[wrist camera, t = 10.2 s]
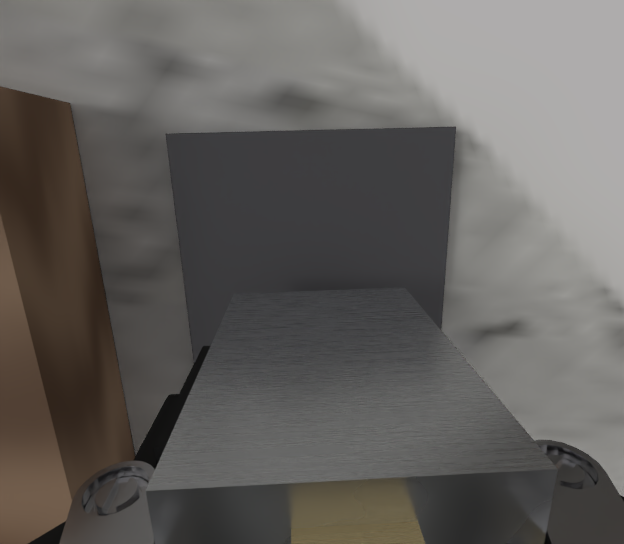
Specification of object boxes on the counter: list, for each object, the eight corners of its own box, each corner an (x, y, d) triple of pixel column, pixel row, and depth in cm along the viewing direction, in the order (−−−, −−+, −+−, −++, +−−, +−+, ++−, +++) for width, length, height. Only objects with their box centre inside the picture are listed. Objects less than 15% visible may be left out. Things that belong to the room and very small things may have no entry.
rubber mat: (171, 134, 13) (165, 133, 12) (448, 128, 13) (456, 126, 12) (213, 486, 17) (210, 498, 16) (424, 475, 17) (429, 486, 16)
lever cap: (234, 294, 11) (114, 557, 4) (404, 287, 12) (607, 527, 4) (246, 439, 13) (177, 836, 5) (398, 431, 13) (540, 806, 5)
